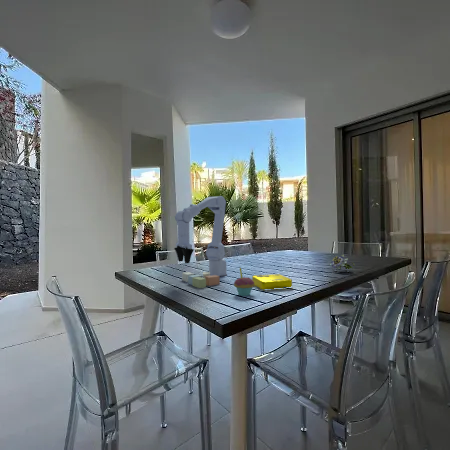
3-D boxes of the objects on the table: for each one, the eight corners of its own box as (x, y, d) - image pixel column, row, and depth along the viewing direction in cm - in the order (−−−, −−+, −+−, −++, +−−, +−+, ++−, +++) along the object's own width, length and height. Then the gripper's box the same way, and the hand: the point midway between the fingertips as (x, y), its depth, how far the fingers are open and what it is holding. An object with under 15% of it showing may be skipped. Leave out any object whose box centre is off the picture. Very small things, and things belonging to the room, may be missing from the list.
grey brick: (182, 280, 152) (182, 272, 152) (188, 279, 154) (188, 272, 154) (187, 282, 147) (187, 274, 147) (193, 281, 149) (193, 273, 149)
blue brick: (198, 282, 147) (198, 274, 147) (202, 283, 145) (202, 275, 145) (188, 284, 143) (188, 276, 143) (192, 285, 141) (192, 277, 140)
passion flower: (335, 280, 174) (324, 263, 179) (347, 275, 179) (336, 258, 184) (347, 272, 165) (335, 254, 170) (360, 267, 170) (348, 250, 175)
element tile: (263, 291, 129) (262, 280, 129) (250, 284, 143) (250, 274, 143) (293, 289, 133) (293, 278, 133) (279, 282, 147) (279, 272, 147)
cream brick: (203, 279, 154) (203, 272, 154) (209, 279, 154) (209, 271, 154) (203, 282, 148) (203, 274, 148) (210, 282, 148) (210, 274, 148)
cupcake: (240, 298, 117) (240, 268, 117) (230, 293, 125) (230, 265, 124) (258, 295, 121) (258, 266, 121) (247, 291, 129) (247, 263, 128)
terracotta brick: (215, 283, 145) (215, 275, 145) (219, 284, 142) (219, 276, 142) (205, 284, 142) (205, 276, 142) (208, 286, 139) (208, 277, 139)
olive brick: (192, 286, 139) (192, 277, 139) (198, 285, 141) (198, 276, 141) (199, 288, 134) (199, 279, 134) (205, 287, 136) (205, 278, 136)
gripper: (170, 234, 150) (170, 261, 150) (182, 235, 138) (182, 264, 138) (183, 234, 154) (183, 259, 154) (195, 235, 142) (196, 263, 142)
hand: (183, 262), depth 146 cm, fingers open, 7 cm apart
